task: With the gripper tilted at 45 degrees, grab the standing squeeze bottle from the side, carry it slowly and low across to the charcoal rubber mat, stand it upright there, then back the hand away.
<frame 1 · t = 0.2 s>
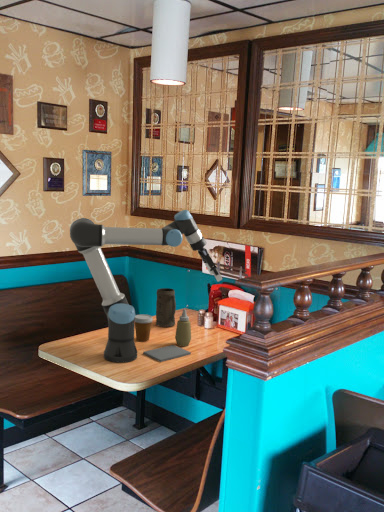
hand: (216, 276, 259), 34 cm above the table, tool tilted 30°, fingers open, 13 cm apart
rubber mat: (167, 354, 248), on the table
disposable coffee cup: (142, 340, 267), on the table
squeeze bottle: (182, 345, 263), on the table
beer stein: (167, 326, 293), on the table
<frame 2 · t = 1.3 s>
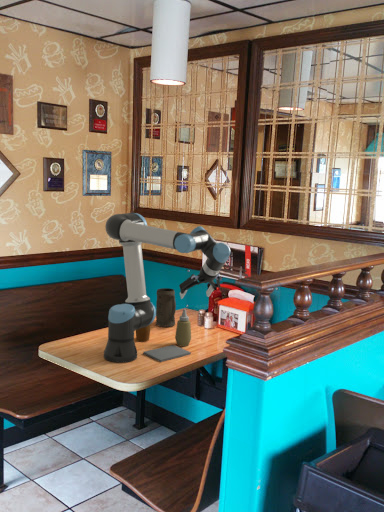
hand: (194, 295, 249), 28 cm above the table, tool tilted 45°, fingers open, 13 cm apart
nothing on the table moved.
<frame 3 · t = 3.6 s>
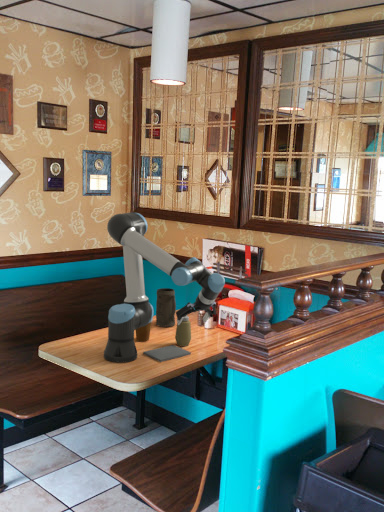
hand: (191, 321, 255), 14 cm above the table, tool tilted 45°, fingers open, 13 cm apart
nothing on the table moved.
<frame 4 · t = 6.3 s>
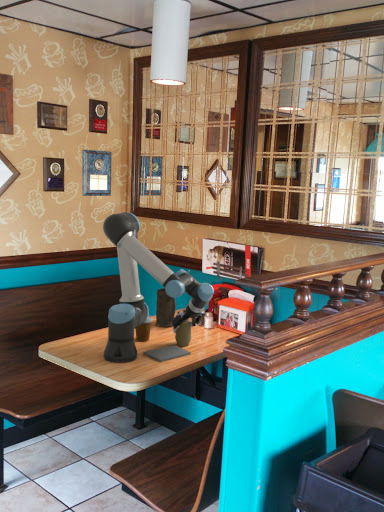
hand: (180, 330, 265), 6 cm above the table, tool tilted 45°, fingers closed on squeeze bottle, 6 cm apart
squeeze bottle: (182, 345, 263), on the table, touching gripper
everything else where it was.
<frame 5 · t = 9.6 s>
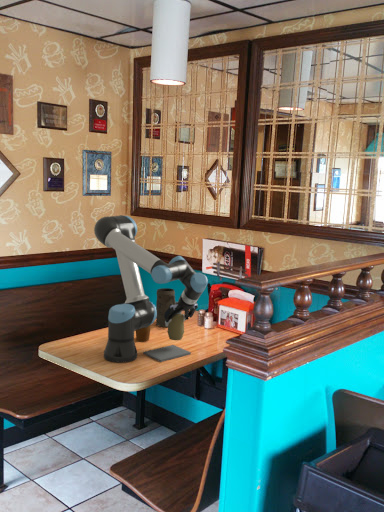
hand: (173, 323, 255), 12 cm above the table, tool tilted 45°, fingers closed on squeeze bottle, 6 cm apart
squeeze bottle: (175, 339, 253), point 5 cm above the table, touching gripper
everything else where it was.
when the fingers open (9 cm above the table, at t = 12.9 s): squeeze bottle drops 1 cm, resting on rubber mat.
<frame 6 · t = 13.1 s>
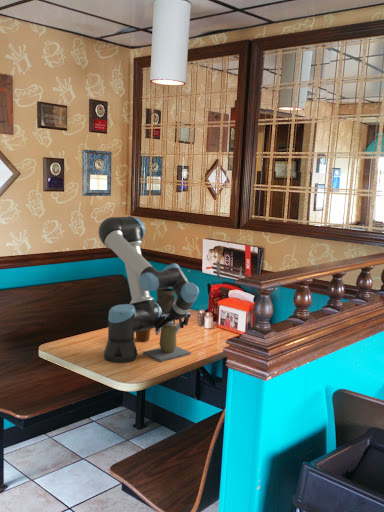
hand: (165, 332, 251), 9 cm above the table, tool tilted 45°, fingers open, 9 cm apart
squeeze bottle: (167, 351, 249), point 1 cm above the table, touching rubber mat
everything else where it was.
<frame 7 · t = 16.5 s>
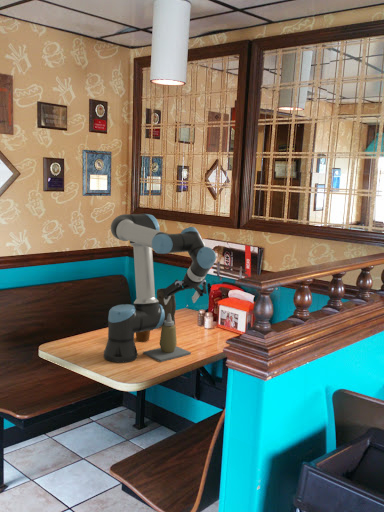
hand: (179, 301, 235), 28 cm above the table, tool tilted 45°, fingers open, 13 cm apart
nothing on the table moved.
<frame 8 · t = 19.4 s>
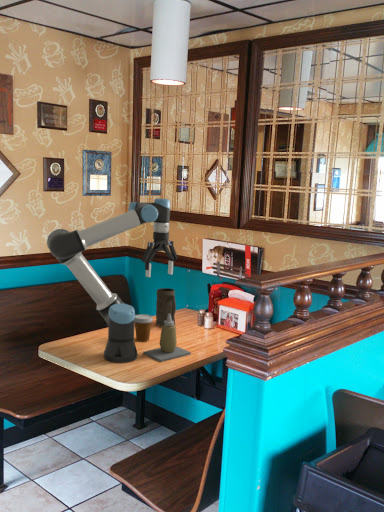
hand: (159, 275, 255), 35 cm above the table, tool pointing down, fingers open, 13 cm apart
nothing on the table moved.
at the end: squeeze bottle inside the target area on the rubber mat (1.4 cm from its centre), point 0.8 cm above the rubber mat's base; squeeze bottle tilted 0°; the gripper is holding nothing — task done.
